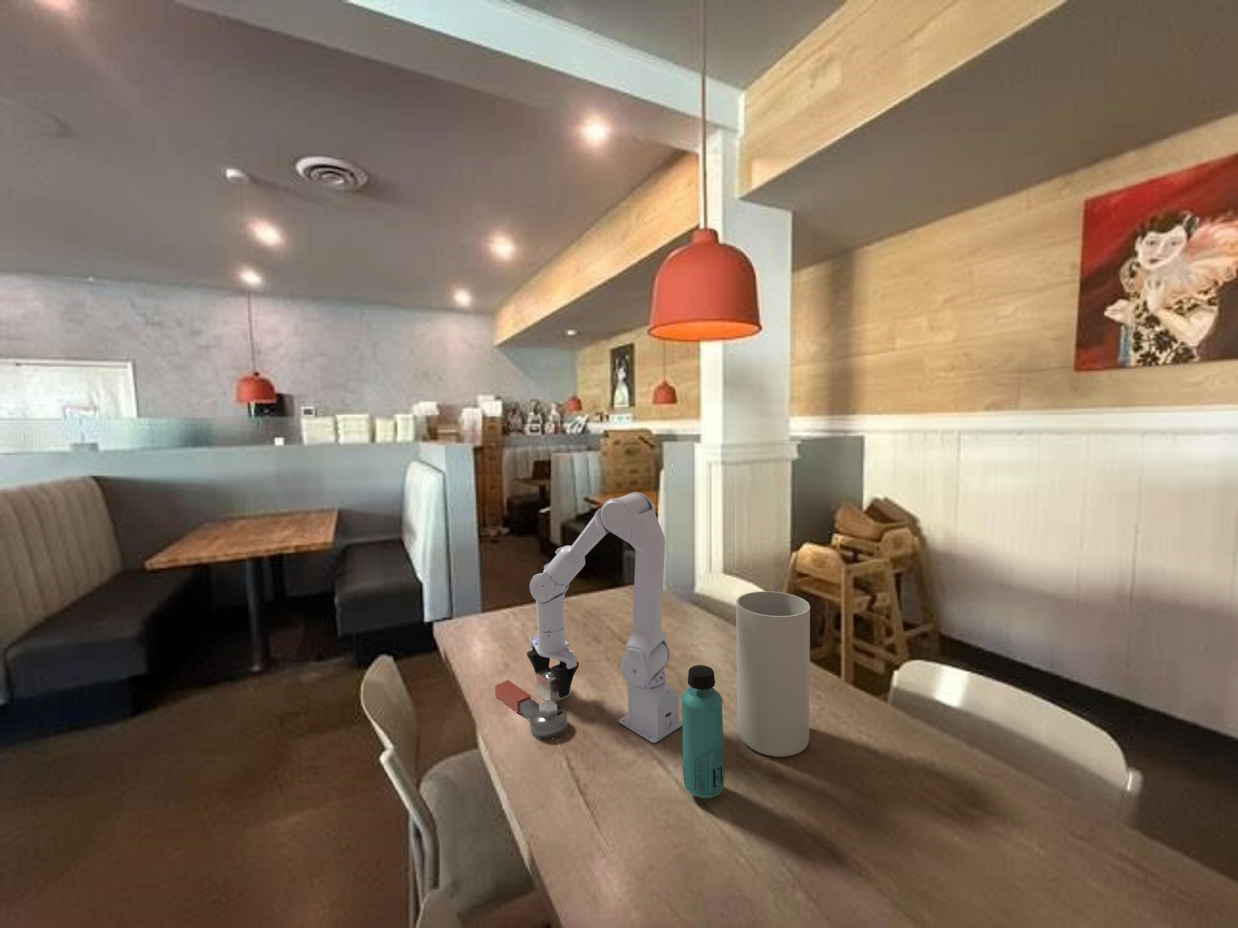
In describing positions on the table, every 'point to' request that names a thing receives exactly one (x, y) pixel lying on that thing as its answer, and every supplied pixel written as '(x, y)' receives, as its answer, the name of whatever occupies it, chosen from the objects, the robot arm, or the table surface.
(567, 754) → the table surface
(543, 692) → the cube block
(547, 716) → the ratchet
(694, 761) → the beverage bottle
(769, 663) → the cylinder vase
